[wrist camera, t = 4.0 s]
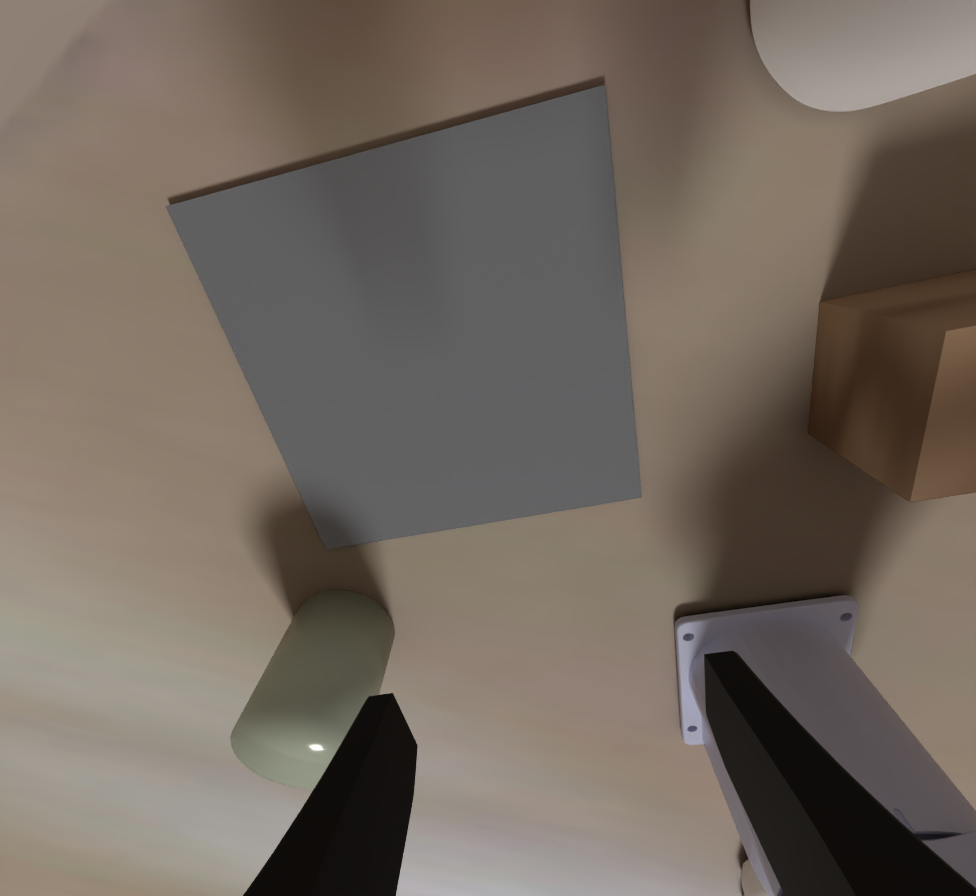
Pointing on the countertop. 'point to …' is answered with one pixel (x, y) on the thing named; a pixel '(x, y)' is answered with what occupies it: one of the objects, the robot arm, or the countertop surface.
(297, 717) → the sage cylinder
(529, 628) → the countertop surface
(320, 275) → the slate mat
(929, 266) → the countertop surface
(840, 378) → the walnut block
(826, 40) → the can
